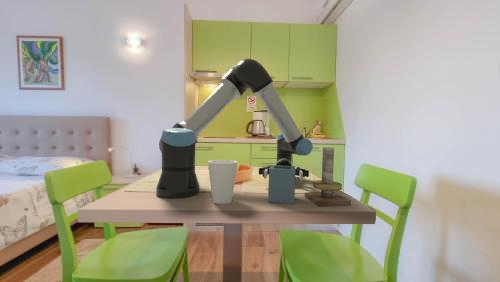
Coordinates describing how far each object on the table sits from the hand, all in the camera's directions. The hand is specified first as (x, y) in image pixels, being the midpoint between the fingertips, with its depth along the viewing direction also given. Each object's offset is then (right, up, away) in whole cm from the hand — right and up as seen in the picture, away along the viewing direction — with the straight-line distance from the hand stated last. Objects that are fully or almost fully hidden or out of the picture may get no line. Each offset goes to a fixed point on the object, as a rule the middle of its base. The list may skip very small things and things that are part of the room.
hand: (283, 176), depth 89 cm
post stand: (+14, -7, -8) cm, 18 cm away
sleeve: (-2, -7, -8) cm, 11 cm away
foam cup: (-22, -7, -11) cm, 25 cm away
